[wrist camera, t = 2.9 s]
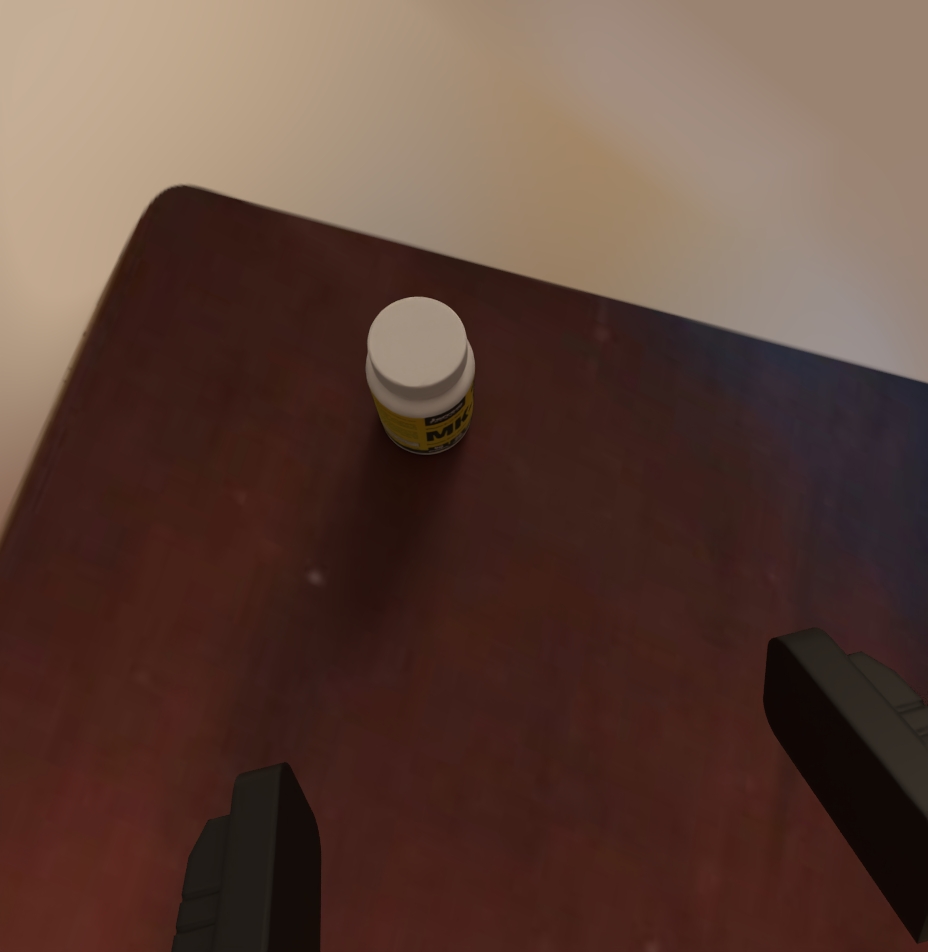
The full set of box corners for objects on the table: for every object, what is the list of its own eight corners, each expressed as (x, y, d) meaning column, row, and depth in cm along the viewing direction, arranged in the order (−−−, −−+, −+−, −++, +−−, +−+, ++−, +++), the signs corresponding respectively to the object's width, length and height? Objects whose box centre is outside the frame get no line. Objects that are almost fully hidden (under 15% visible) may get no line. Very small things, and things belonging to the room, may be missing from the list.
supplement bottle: (435, 474, 34) (426, 421, 26) (362, 421, 35) (331, 353, 27) (491, 402, 35) (499, 328, 27) (419, 352, 36) (405, 265, 28)
